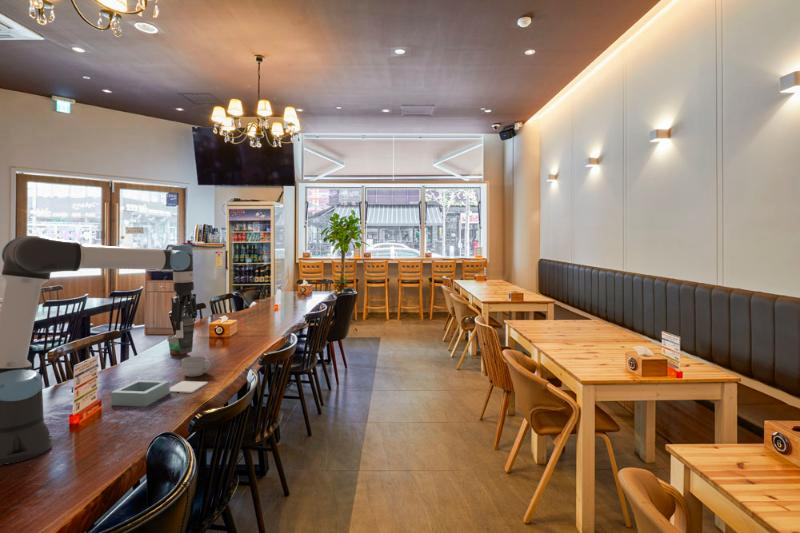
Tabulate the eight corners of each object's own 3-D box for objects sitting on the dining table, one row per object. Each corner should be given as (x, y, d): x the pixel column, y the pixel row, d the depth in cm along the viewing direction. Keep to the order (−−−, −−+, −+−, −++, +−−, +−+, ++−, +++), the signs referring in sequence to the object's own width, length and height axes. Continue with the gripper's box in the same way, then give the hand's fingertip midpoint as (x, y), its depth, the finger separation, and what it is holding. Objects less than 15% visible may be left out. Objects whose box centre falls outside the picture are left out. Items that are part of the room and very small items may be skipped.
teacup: (177, 376, 194) (176, 359, 194) (198, 370, 204) (197, 353, 203) (197, 381, 188) (196, 363, 187) (217, 374, 197) (217, 357, 197)
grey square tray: (145, 406, 159) (145, 393, 158) (111, 405, 160) (110, 392, 160) (169, 393, 173) (169, 381, 172) (137, 392, 174) (137, 380, 174)
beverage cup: (187, 354, 174) (185, 306, 173) (172, 353, 176) (170, 306, 174) (199, 350, 181) (197, 304, 180) (184, 349, 183) (182, 303, 181)
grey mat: (192, 393, 173) (191, 391, 173) (164, 392, 174) (164, 390, 174) (208, 383, 185) (208, 381, 185) (182, 382, 186) (182, 380, 186)
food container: (162, 355, 229) (161, 337, 229) (171, 352, 235) (170, 334, 235) (180, 357, 226) (179, 338, 225) (189, 354, 232) (188, 336, 231)
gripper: (177, 284, 166) (179, 341, 168) (205, 279, 186) (207, 330, 188) (159, 283, 167) (161, 341, 168) (189, 279, 187) (191, 330, 188)
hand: (185, 335), depth 178 cm, fingers closed on beverage cup, 7 cm apart
